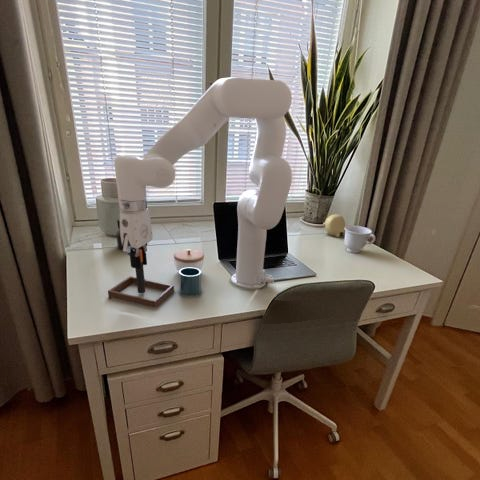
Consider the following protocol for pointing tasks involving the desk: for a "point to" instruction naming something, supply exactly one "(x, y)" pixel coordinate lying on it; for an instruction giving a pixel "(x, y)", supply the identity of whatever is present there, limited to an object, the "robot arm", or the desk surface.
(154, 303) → the desk tray
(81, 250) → the desk surface
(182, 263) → the trinket box
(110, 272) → the desk surface
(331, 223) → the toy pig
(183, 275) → the pen cup
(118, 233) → the ink bottle
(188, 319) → the desk surface
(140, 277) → the marker
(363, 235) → the teacup
